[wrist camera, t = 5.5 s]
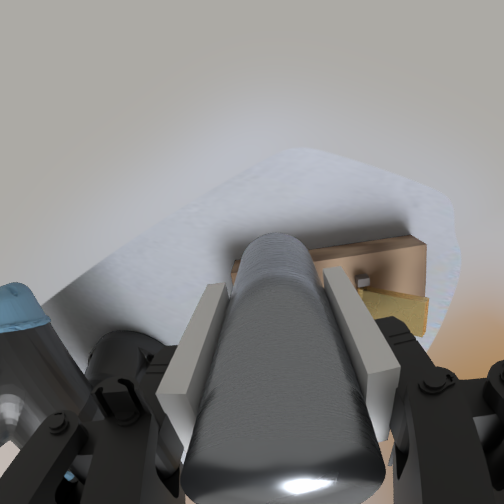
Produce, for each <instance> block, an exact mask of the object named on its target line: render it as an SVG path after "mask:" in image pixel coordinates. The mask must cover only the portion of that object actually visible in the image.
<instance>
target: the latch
mask: <svg viewBox="0 0 504 504" xmlns="http://www.w3.org/2000/svg"><path fill="white" fill-rule="evenodd" d="M358 294H359V296H360V297H361V299H362V301H363V302H364V304H365V306H366V307H367V309H368V311H369V312H370V314H371V316H372V317H373V319H379V318H384V317H389V316H394V317H396V318H397V319H399V320H401V321H403V322H404V323H405V324H406V326H407V327H408V328H409V330H410V331H411V333H412V334H413V335H414V336H419V337H423V335H424V334H425V332H426V324H427V315H428V304H429V298H427V297H421V296H416V295H410V294H405V293H400V292H394V291H389V290H384V289H379V288H373V287H368V286H365V287H359V288H358Z"/></svg>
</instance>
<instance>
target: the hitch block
mask: <svg viewBox="0 0 504 504" xmlns="http://www.w3.org/2000/svg"><path fill="white" fill-rule="evenodd" d="M308 251H309V253H310V255H311V258H312V260H313V263H314V265H315V268H316V270H317V272H318V275H319V277H320V280H321V282H322V285H323V288H324V280H323V269H324V268H331V267H337V266H341V267H342V269H343V270H344V272H345V273H346V275H347V276H348V278H349V280H350V281H351V283H352V284H353V286H354V288H355V289H356V291H357V292H358V288H359V287H365V286H368V287H373V288H379V289H384V290H389V291H394V292H400V293H405V294H410V295H416V296H421V297H425V284H426V251H427V244H425V243H424V242H422V241H420V240H419V239H417V238H415V237H414V236H412V235H407V236H400V237H393V238H386V239H380V240H373V241H366V242H359V243H353V244H346V245H339V246H332V247H325V248H318V249H311V250H308ZM240 262H241V260H235V263H234V266H233V268H232V271H231V278H232V283H233V286H234V283H235V279H236V276H237V272H238V269H239V265H240Z"/></svg>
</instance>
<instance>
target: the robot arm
mask: <svg viewBox="0 0 504 504" xmlns="http://www.w3.org/2000/svg"><path fill="white" fill-rule="evenodd" d="M323 280H324V290H325V293H326V295H327V298H328V300H329V303H330V305H331V308H332V311H333V313H334V316H335V319H336V321H337V324H338V327H339V329H340V332H341V335H342V337H343V340H344V343H345V346H346V348H347V351H348V354H349V357H350V359H351V362H352V365H353V368H354V371H355V374H356V376H357V379H358V382H359V385H360V388H361V391H362V394H363V397H364V400H365V403H366V406H367V409H368V412H369V415H370V418H371V422H372V425H373V428H374V431H375V434H376V438H377V441H378V442H382V441H386V440H388V435H389V431H390V429H391V432H392V435H393V438H394V440H395V441H394V445H393V448H392V452H391V456H390V459H389V463H388V466H392V464H393V487H394V504H504V360H502V361H499V362H497V363H495V364H494V365H493V366H492V367H491V368H490V370H489V372H488V376H487V378H480V379H470V380H459V379H458V378H457V376H456V375H455V373H453V372H451V371H450V370H448V369H446V368H442V367H435V365H434V364H433V362H432V361H431V359H430V358H429V356H428V355H427V354H426V352H425V351H424V349H423V348H422V346H421V345H420V344H419V342H418V341H416V338H415V337H414V335H413V334H412V333H411V331H410V330H409V328H408V327H407V326H406V324H405V323H404V322H403V321H401V320H399V319H397V318H396V317H394V316H389V317H384V318H379V319H373V317H372V316H371V314H370V312H369V311H368V309H367V307H366V306H365V304H364V302H363V301H362V299H361V297H360V296H359V294H358V292H357V291H356V289H355V288H354V286H353V284H352V283H351V281H350V280H349V278H348V276H347V275H346V273H345V272H344V270H343V269H342V267H341V266H337V267H331V268H324V269H323ZM228 304H229V296H228V292H227V287H226V282H224V283H217V284H209V285H207V287H206V289H205V291H204V293H203V295H202V297H201V299H200V301H199V303H198V305H197V307H196V309H195V311H194V313H193V315H192V318H191V320H190V322H189V324H188V326H187V328H186V330H185V332H184V334H183V336H182V338H181V340H180V342H179V345H173V346H164V345H163V344H161V343H160V342H158V341H156V340H154V339H153V338H150V337H148V336H146V335H143V334H140V333H137V332H132V331H115V332H111V333H109V334H107V335H105V336H104V337H102V338H101V339H100V340H99V342H98V343H97V344H96V345H95V346H94V348H93V349H92V351H91V353H90V355H89V359H88V367H87V369H86V371H85V374H83V372H82V371H81V370H80V368H79V367H78V365H77V364H76V362H75V361H74V360H73V358H72V357H71V355H70V354H69V352H68V351H67V349H66V347H65V346H64V344H63V343H62V341H61V340H60V338H59V336H58V335H57V333H56V332H55V330H54V328H53V327H52V325H51V323H50V322H51V319H50V318H49V316H47V315H45V313H44V311H43V310H42V308H41V306H40V305H39V303H38V302H37V300H36V298H35V296H34V295H33V293H32V291H31V290H30V289H29V288H28V287H27V286H26V285H24V284H22V283H18V282H13V283H9V284H6V285H3V286H1V287H0V447H1V446H2V445H4V444H5V443H6V442H7V441H10V440H11V441H12V442H13V443H14V444H15V445H16V446H17V447H18V448H19V449H20V450H21V451H20V452H19V453H18V455H17V456H16V457H15V459H14V460H13V461H12V463H11V464H10V466H9V467H8V468H7V470H6V471H5V472H4V474H3V475H2V477H1V478H0V504H185V493H184V491H183V489H182V487H181V484H180V476H181V473H182V469H183V464H182V462H181V461H180V460H181V457H182V453H183V450H185V452H186V454H187V451H188V447H189V443H190V440H191V436H192V432H193V429H194V425H195V421H196V418H197V414H198V410H199V407H200V403H201V400H202V396H203V392H204V389H205V385H206V382H207V378H208V375H209V371H210V367H211V364H212V360H213V357H214V353H215V350H216V346H217V343H218V339H219V335H220V332H221V328H222V325H223V321H224V318H225V314H226V311H227V307H228Z"/></svg>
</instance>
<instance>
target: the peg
mask: <svg viewBox="0 0 504 504" xmlns="http://www.w3.org/2000/svg"><path fill="white" fill-rule="evenodd" d="M385 474H386V469H385V464H384V461H383V458H382V454H381V451H380V448H379V444H378V441H377V438H376V434H375V431H374V428H373V425H372V422H371V418H370V415H369V412H368V409H367V406H366V403H365V400H364V397H363V394H362V391H361V388H360V385H359V382H358V379H357V376H356V374H355V371H354V368H353V365H352V362H351V359H350V357H349V354H348V351H347V348H346V346H345V343H344V340H343V337H342V335H341V332H340V329H339V327H338V324H337V321H336V319H335V316H334V313H333V311H332V308H331V305H330V303H329V300H328V298H327V295H326V293H325V290H324V288H323V285H322V282H321V280H320V277H319V275H318V272H317V270H316V268H315V265H314V263H313V260H312V258H311V255H310V253H309V251H308V249H307V248H306V247H305V245H304V244H303V243H302V242H301V241H299V240H298V239H296V238H295V237H293V236H291V235H287V234H283V233H270V234H266V235H263V236H261V237H259V238H257V239H255V240H254V241H253V242H252V243H250V244H249V246H248V247H247V248H246V250H245V251H244V253H243V255H242V259H241V262H240V265H239V269H238V272H237V276H236V279H235V283H234V286H233V290H232V293H231V297H230V300H229V304H228V307H227V311H226V314H225V318H224V321H223V325H222V328H221V332H220V335H219V339H218V343H217V346H216V350H215V353H214V357H213V360H212V364H211V367H210V371H209V375H208V378H207V382H206V385H205V389H204V392H203V396H202V400H201V403H200V407H199V410H198V414H197V418H196V421H195V425H194V429H193V432H192V436H191V440H190V443H189V447H188V451H187V454H186V458H185V462H184V465H183V469H182V473H181V476H180V484H181V487H182V489H183V491H184V493H185V494H186V495H187V496H188V497H189V498H190V499H191V500H192V501H193V502H194V503H196V504H361V503H363V502H364V501H365V500H367V499H368V498H369V497H371V496H372V495H373V494H374V493H375V492H376V491H377V490H378V489H379V488H380V486H381V485H382V483H383V481H384V479H385Z"/></svg>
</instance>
